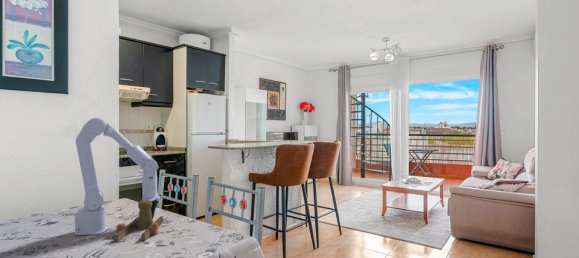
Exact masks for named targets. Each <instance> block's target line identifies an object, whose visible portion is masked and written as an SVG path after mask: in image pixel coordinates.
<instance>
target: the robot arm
mask: <svg viewBox="0 0 579 258" xmlns="http://www.w3.org/2000/svg"><path fill="white" fill-rule="evenodd" d="M101 134H102V135H103V136H104V137H109V138H111V139H113V140H114V142H116V143H118V144H119V145H120V146H121V147H122V148H123V149H124V150H126V156H127V157H128V158H130V160H132V162H134V163H135V164H136V165H137V166H139V167H140V168H141V169H142V177H141V179H142V182H141V183H142V198H141V201H142V200H151V201H152V207H151V213H152V219H154V217H155V212H156V208H157V207H158V203H159V199H161V196H159V193H158V175H157V174H158V172H157V171H158V169H159V165H158V164H159V163H158V162H157V161H156V160H155V159H154V158H153V155H152V154H148V153H147V152H146V151H145V150H144V149H145V148H144V147H143V146H141V145H139V144H133V143H131V141H129V140H128V139H127V138H126V136H124V135H123V134H122V133H121V132H120V131H118V129H116V128H115V127H113V126H112V125H110V124H109V123H108V122H105V120H104V119H102V118H100V117H94V118H91V119H90V120H88V121H87V122H86V123H85V124H84V125H83V126H82V128H81V129H80V132H79V133H78V135H77V136H76V138H75V147H76V151H77V155H78V161H79V165H80V170H81V176H82V180H83V186H84V194H85V196H84V200H83V204H84V205H83V206H84V207H83V208H81V209H78V210H77V211H76V212H75V216H74V233H73V236H87V235H88V236H89V235H101V234H103V233H104V232H106V231H107V230H108V229H110V227H111V226H110V225H108V226H107V225H106V205H104V203H105V202H104V194H103V192H102V191H101V190H100V186H99V182H98V178H97V172H96V167H95V162H94V161H95V160H94V157H93V152H92V146H91V143H92V142H93V141H94V140H95V139H96V137H98V136H100V135H101Z"/></svg>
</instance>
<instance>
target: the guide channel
mask: <svg viewBox="0 0 579 258" xmlns="http://www.w3.org/2000/svg"><path fill="white" fill-rule="evenodd" d="M138 218H139V216H138V217H136V218H134V219H133V220H132V221H131V222H130V223H129V224H127V225H126V226H125V223H118V224H116V226H115V227H116V229H115V230H116V234H114V243H119V242H120V241H121V240H123V239H124V238H125V237H126V236H127V235H129V233H131V232H132V231H133V230H134V229H136V227H137V225H138ZM163 223H164V216H163V215H162V216H159V217H157V219H156V220H155V221H153V223H152V224H151V226H150V227H149V228H148V229H147V230H144V232H143V233H141V241H142V242H146V241H147V240H148V239H149V238H150V237H151V236H157V235H158V234H159V227H160V226H161V225H162V224H163Z"/></svg>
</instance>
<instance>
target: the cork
mask: <svg viewBox="0 0 579 258" xmlns="http://www.w3.org/2000/svg"><path fill="white" fill-rule="evenodd" d="M137 207H138V209H139V212H138V217H139V218H138V225H137V228H136V229H137V230H138V231H146V230H147V229H148V228H149V227H150V226H151V224H152V223H154V221H153V219H154V218H153V219H152V213H151V207H152V201H151V200H142V199H141V200H140V201H139V202H138V204H137Z"/></svg>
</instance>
